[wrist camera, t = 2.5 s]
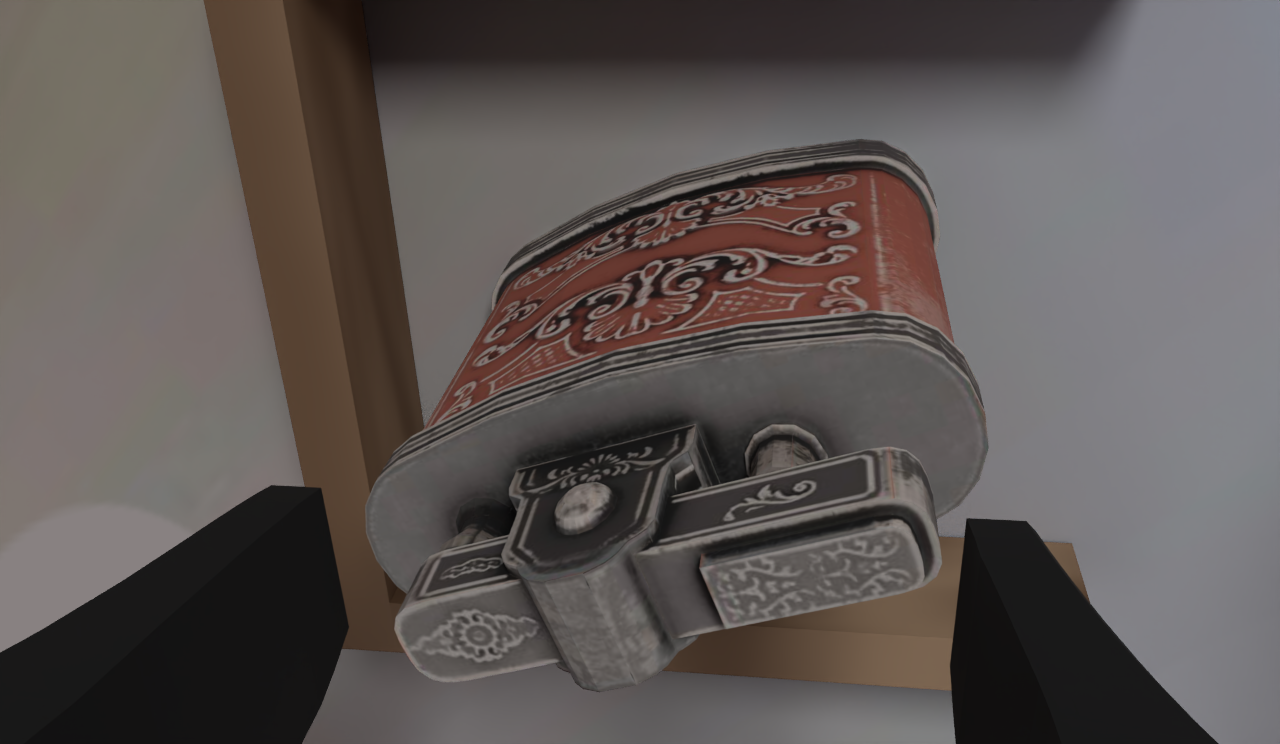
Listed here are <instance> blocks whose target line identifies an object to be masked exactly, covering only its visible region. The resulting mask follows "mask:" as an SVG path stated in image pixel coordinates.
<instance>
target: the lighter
mask: <svg viewBox="0 0 1280 744" xmlns="http://www.w3.org/2000/svg"><path fill="white" fill-rule="evenodd" d="M939 239H940V231H939V222H938V213H937V207H936V203H935V199H934V194H933V191H932V189H931V187H930V185H929V183H928V181H927V179H926V177H925V174H924V172H923V170H922V169H921V168H920V167H919V166H918V165H917V164H916V163H915V162H914V161H913V160H912V159H911V158H910V157H909V156H908V155H907V154H906V153H905V152H904V151H902V150H900V149H898V148H896V147H894V146H892V145H890V144H888V143H885V142H883V141H877V140H863V139H856V140H848V141H840V142H832V143H825V144H817V145H809V146H801V147H793V148H785V149H778V150H770V151H765V152H761V153H757V154H752V155H748V156H744V157H740V158H736V159H732V160H728V161H724V162H720V163H716V164H712V165H708V166H704V167H700V168H696V169H692V170H688V171H684V172H680V173H676V174H674V175H671V176H669V177H666V178H664V179H661V180H659V181H656V182H654V183H651V184H649V185H646V186H644V187H642V188H639V189H637V190H634V191H632V192H629V193H627V194H624V195H622V196H619V197H617V198H614V199H612V200H609V201H607V202H604V203H602V204H599V205H597V206H595V207H593V208H591V209H589V210H587V211H586V212H584V213H582V214H580V215H578V216H577V217H575V218H573V219H571V220H569V221H568V222H566V223H564V224H562V225H560V226H559V227H557V228H555V229H553V230H551V231H550V232H548V233H546V234H544V235H542V236H541V237H539V238H537V239H535V240H533V241H532V242H530V243H528V244H526V245H525V246H524V247H523V248H522V249H521V250H519V251H518V252H517V253H516V254H515V255H514V256H513V257H512V258H511V260H510V261H509V263H508V265H507V266H506V268H505V270H504V271H503V273H502V274H501V276H500V278H499V281H498V283H497V285H496V287H495V290H494V292H493V294H492V313H491V315H490V316H489V318H488V320H487V321H486V323H485V325H484V327H483V328H482V330H481V332H480V333H479V335H478V337H477V339H476V340H475V342H474V344H473V345H472V347H471V349H470V351H469V352H468V354H467V356H466V357H465V359H464V361H463V363H462V364H461V366H460V368H459V369H458V371H457V373H456V374H455V376H454V378H453V380H452V381H451V383H450V385H449V386H448V388H447V390H446V392H445V393H444V395H443V397H442V398H441V400H440V402H439V404H438V405H437V407H436V409H435V410H434V412H433V414H432V416H431V417H430V419H429V421H428V422H427V424H426V426H425V427H424V429H423V431H421V432H419V433H417V434H415V435H413V436H411V437H410V438H409V439H408V440H407V441H406V442H404V443H403V444H402V445H401V446H400V447H398V448H397V449H396V450H395V451H394V452H393V454H392V455H391V457H390V459H389V460H388V462H387V464H386V465H385V467H384V468H383V470H382V472H381V473H380V475H379V477H378V478H377V480H376V482H375V484H374V486H373V488H372V491H371V493H370V496H369V498H368V500H367V503H366V505H365V513H366V534H367V537H368V539H369V542H370V544H371V547H372V550H373V552H374V555H375V557H376V560H377V561H378V563H379V564H380V565H381V567H382V568H383V569H384V571H385V572H386V573H387V574H388V576H389V577H390V578H391V580H392V581H393V582H394V584H395V585H396V586H397V587H399V588H400V589H401V590H403V591H404V592H405V593H406V594H407V595H406V597H405V599H404V601H403V603H402V605H401V607H400V609H399V612H398V614H397V616H396V618H395V627H394V630H395V632H396V635H397V637H398V640H399V642H400V645H401V646H402V648H403V650H404V651H405V653H406V655H407V657H408V658H409V659H410V661H411V662H412V663H413V665H414V666H415V667H416V668H417V670H418V671H419V672H421V673H422V674H424V675H425V676H427V677H429V678H430V679H432V680H437V681H441V682H445V683H450V682H462V681H468V680H473V679H478V678H483V677H488V676H493V675H498V674H503V673H508V672H513V671H518V670H523V669H528V668H533V667H538V666H543V665H548V664H553V663H556V665H557V667H558V668H560V669H562V670H563V671H566V672H569V673H571V675H572V677H573V679H574V681H575V683H576V684H577V685H579V686H580V687H581V688H583V689H587V690H592V691H597V692H602V691H607V690H613V689H618V688H623V687H628V686H634V685H638V684H640V683H641V682H643V681H645V680H647V679H649V678H651V677H653V676H655V675H657V674H658V673H659V672H660V671H662V670H663V669H664V668H665V667H666V666H668V665H669V663H670V662H671V661H672V659H673V658H674V657H675V656H676V654H677V653H678V652H679V651H681V650H682V649H684V648H685V647H687V646H688V645H690V644H691V643H692V642H694V641H695V640H696V639H697V638H698V636H699V635H700V634H702V633H707V632H712V631H717V630H722V629H729V628H734V627H739V626H744V625H749V624H754V623H759V622H764V621H769V620H774V619H779V618H784V617H789V616H794V615H799V614H804V613H809V612H814V611H819V610H824V609H829V608H834V607H839V606H844V605H849V604H854V603H859V602H864V601H868V600H873V599H878V598H883V597H888V596H893V595H898V594H902V593H905V592H908V591H912V590H915V589H918V588H921V587H924V586H925V585H926V584H928V583H929V582H930V581H932V580H933V579H934V578H936V577H937V575H938V572H939V570H940V567H941V565H942V558H941V550H940V542H939V535H938V528H937V521H936V520H937V519H938V518H940V517H942V516H943V515H945V514H946V513H948V512H950V511H951V510H953V509H954V508H956V507H958V506H959V505H960V504H961V503H962V502H963V500H964V499H965V498H966V496H967V495H968V494H969V493H970V491H971V490H972V489H973V487H974V486H975V485H976V483H977V482H978V481H979V479H980V476H981V472H982V469H983V465H984V462H985V458H986V455H987V451H988V438H987V427H986V417H985V411H984V407H983V403H982V398H981V394H980V390H979V386H978V382H977V380H976V378H975V376H974V374H973V372H972V370H971V368H970V366H969V364H968V362H967V360H966V358H965V356H964V354H963V352H962V351H961V350H960V349H959V348H958V347H957V346H956V345H955V344H954V340H953V336H952V331H951V326H950V321H949V317H948V312H947V307H946V302H945V298H944V293H943V288H942V284H941V279H940V274H939V269H938V265H937V260H936V251H937V247H938V243H939Z"/></svg>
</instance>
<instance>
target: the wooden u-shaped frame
mask: <svg viewBox="0 0 1280 744" xmlns="http://www.w3.org/2000/svg"><path fill="white" fill-rule="evenodd" d="M204 4H205V9H206V14H207V18H208V23H209V28H210V33H211V38H212V42H213V47H214V52H215V57H216V62H217V67H218V71H219V76H220V81H221V86H222V91H223V95H224V100H225V105H226V110H227V115H228V119H229V124H230V129H231V134H232V139H233V143H234V148H235V153H236V158H237V163H238V167H239V172H240V177H241V182H242V187H243V191H244V196H245V201H246V206H247V211H248V215H249V220H250V225H251V230H252V235H253V239H254V244H255V249H256V254H257V259H258V263H259V268H260V273H261V278H262V283H263V287H264V292H265V297H266V302H267V307H268V311H269V316H270V321H271V326H272V331H273V335H274V340H275V345H276V350H277V355H278V359H279V364H280V369H281V374H282V379H283V383H284V388H285V393H286V398H287V403H288V408H289V412H290V417H291V422H292V427H293V432H294V436H295V441H296V446H297V451H298V456H299V460H300V465H301V470H302V475H303V480H304V484H305V487H317V488H321V489H322V494H323V499H324V504H325V509H326V514H327V519H328V524H329V529H330V534H331V539H332V544H333V549H334V554H335V559H336V564H337V569H338V574H339V579H340V584H341V589H342V594H343V599H344V604H345V609H346V614H347V619H348V624H349V629H348V632H347V635H346V638H345V641H344V644H343V647H342V649H357V650H371V651H386V652H400V653H405V651H404V650H403V648H402V646H401V645H400V642H399V640H398V637H397V635H396V632H395V630H394V627H395V618H396V616H397V614H398V612H399V609H400V607H401V605H402V603H403V601H404V599H405V597H406V595H407V594H406V593H405V592H404V591H403V590H401V589H400V588H399V587H397V586H396V585H395V584H394V582H393V581H392V580H391V578H390V577H389V576H388V574H387V573H386V572H385V571H384V569H383V568H382V567H381V565H380V564H379V563H378V561H377V560H376V557H375V555H374V552H373V550H372V547H371V544H370V542H369V539H368V537H367V534H366V513H365V505H366V503H367V500H368V498H369V496H370V493H371V491H372V488H373V486H374V484H375V482H376V480H377V478H378V477H379V475H380V473H381V472H382V470H383V468H384V467H385V465H386V464H387V462H388V460H389V459H390V457H391V455H392V454H393V452H394V451H395V450H396V449H397V448H398V447H400V446H401V445H402V444H403V443H404V442H406V441H407V440H408V439H409V438H410V437H411V436H413V435H415V434H417V433H419V432H421V431H423V429H424V425H423V418H422V411H421V404H420V397H419V390H418V384H417V377H416V370H415V363H414V356H413V349H412V343H411V336H410V329H409V322H408V315H407V308H406V302H405V295H404V288H403V281H402V274H401V267H400V261H399V254H398V247H397V240H396V233H395V226H394V220H393V213H392V206H391V199H390V192H389V185H388V178H387V172H386V165H385V158H384V151H383V144H382V137H381V131H380V124H379V117H378V110H377V103H376V96H375V90H374V83H373V76H372V69H371V62H370V55H369V49H368V42H367V35H366V28H365V21H364V14H363V8H362V1H361V0H204ZM939 542H940V550H941V558H942V565H941V567H940V570H939V572H938V575H937V577H936V578H934V579H933V580H932V581H930V582H929V583H928V584H926V585H925V586H924V587H921V588H918V589H915V590H912V591H908V592H905V593H902V594H898V595H893V596H888V597H883V598H878V599H873V600H868V601H864V602H859V603H854V604H849V605H844V606H839V607H834V608H829V609H824V610H819V611H814V612H809V613H804V614H799V615H794V616H789V617H784V618H779V619H774V620H769V621H764V622H759V623H754V624H749V625H744V626H739V627H734V628H729V629H722V630H717V631H712V632H707V633H702V634H700V635H699V636H698V638H697V639H696V640H695V641H694V642H692V643H691V644H690V645H688V646H687V647H685V648H684V649H682V650H681V651H679V652H678V653H677V654H676V656H675V657H674V658H673V659H672V661H671V662H670V663H669V665H668V666H666V667H665V668H664V669H663V670H662V671H675V672H690V673H704V674H719V675H733V676H748V677H762V678H777V679H791V680H806V681H820V682H835V683H849V684H863V685H878V686H892V687H907V688H921V689H936V690H950V691H952V689H951V676H950V660H951V651H952V642H953V634H954V625H955V616H956V607H957V599H958V590H959V581H960V573H961V564H962V555H963V546H964V538H956V537H939ZM1044 543H1045V545H1046V546H1047V547H1048V549H1049V550H1050V552H1051V553H1052V554H1053V556H1054V557H1055V558H1056V560H1057V561H1058V562H1059V564H1060V565H1061V566H1062V568H1063V569H1064V570H1065V572H1066V573H1067V574H1068V576H1069V577H1070V578H1071V580H1072V581H1073V582H1074V583H1075V585H1076V586H1077V587H1078V589H1079V590H1080V591H1081V592H1082V594H1083V595H1084V596H1085V598H1086V599H1087V600H1088V601H1089V598H1088V595H1087V591H1086V588H1085V585H1084V581H1083V578H1082V575H1081V572H1080V568H1079V565H1078V562H1077V559H1076V555H1075V552H1074V549H1073V546H1072V543H1054V542H1044ZM1089 603H1090V601H1089Z"/></svg>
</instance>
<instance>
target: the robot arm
mask: <svg viewBox="0 0 1280 744" xmlns="http://www.w3.org/2000/svg"><path fill="white" fill-rule="evenodd" d="M348 629H349V624H348V619H347V614H346V609H345V604H344V599H343V594H342V589H341V584H340V579H339V574H338V569H337V564H336V559H335V554H334V549H333V544H332V539H331V534H330V529H329V524H328V519H327V514H326V509H325V504H324V499H323V494H322V489H321V488H317V487H296V486H275V485H271V486H269V487H268V488H266V489H264V490H262V491H260V492H259V493H257V494H255V495H253V496H252V497H250V498H248V499H247V500H245V501H244V502H242V503H240V504H239V505H237V506H236V507H234V508H233V509H231V510H230V511H228V512H226V513H225V514H223V515H222V516H220V517H219V518H217V519H216V520H214V521H213V522H211V523H210V524H208V525H207V526H205V527H204V528H202V529H201V530H199V531H198V532H196V533H195V534H193V535H192V536H190V537H189V538H187V539H186V540H184V541H183V542H181V543H180V544H178V545H177V546H175V547H174V548H172V549H171V550H169V551H168V552H166V553H165V554H163V555H161V556H160V557H158V558H157V559H155V560H154V561H152V562H151V563H149V564H148V565H146V566H145V567H143V568H142V569H140V570H138V571H137V572H135V573H134V574H132V575H131V576H129V577H128V578H126V579H125V580H123V581H122V582H120V583H118V584H117V585H115V586H113V587H112V588H110V589H108V590H107V591H105V592H103V593H102V594H100V595H98V596H97V597H95V598H94V599H92V600H90V601H89V602H87V603H85V604H84V605H82V606H80V607H79V608H77V609H75V610H74V611H72V612H70V613H69V614H67V615H65V616H64V617H62V618H60V619H59V620H57V621H55V622H54V623H52V624H51V625H49V626H47V627H46V628H44V629H42V630H40V631H39V632H37V633H35V634H33V635H32V636H30V637H28V638H26V639H25V640H23V641H21V642H19V643H17V644H15V645H13V646H12V647H10V648H8V649H6V650H4V651H2V652H1V653H0V744H302V742H303V740H304V738H305V736H306V734H307V732H308V730H309V728H310V726H311V724H312V722H313V720H314V718H315V716H316V714H317V712H318V710H319V709H320V707H321V705H322V702H323V699H324V697H325V694H326V691H327V689H328V686H329V683H330V681H331V678H332V676H333V673H334V670H335V667H336V664H337V661H338V659H339V656H340V653H341V650H342V647H343V644H344V641H345V638H346V635H347V632H348ZM950 676H951V689H952V703H953V716H954V727H955V739H956V744H1218V743H1217V742H1216V741H1215V740H1214V739H1213V738H1212V737H1211V736H1210V735H1209V734H1208V733H1207V732H1206V731H1205V730H1204V729H1203V728H1202V727H1201V726H1200V725H1199V724H1198V723H1196V722H1195V721H1194V720H1193V719H1192V718H1191V717H1190V715H1189V714H1188V713H1187V712H1186V711H1185V710H1184V709H1183V708H1182V707H1181V706H1180V705H1179V704H1178V703H1177V702H1176V701H1175V700H1174V699H1173V698H1172V697H1171V696H1170V695H1169V694H1168V693H1167V692H1166V691H1165V689H1164V688H1163V687H1162V686H1161V685H1160V684H1159V683H1158V682H1157V681H1156V680H1155V679H1154V678H1153V676H1152V675H1151V674H1150V673H1149V672H1148V671H1147V670H1146V669H1145V668H1144V667H1143V665H1142V664H1141V663H1140V662H1139V661H1138V660H1137V659H1136V658H1135V656H1134V655H1133V654H1132V653H1131V652H1130V650H1129V649H1128V648H1127V647H1126V646H1125V645H1124V643H1123V642H1122V641H1121V640H1120V639H1119V638H1118V636H1117V635H1116V634H1115V633H1114V632H1113V631H1112V629H1111V628H1110V627H1109V626H1108V625H1107V624H1106V622H1105V621H1104V620H1103V619H1102V618H1101V616H1100V615H1099V614H1098V613H1097V611H1096V610H1095V609H1094V608H1093V606H1092V605H1091V604H1090V603H1089V601H1088V600H1087V599H1086V598H1085V596H1084V595H1083V594H1082V592H1081V591H1080V590H1079V589H1078V587H1077V586H1076V585H1075V583H1074V582H1073V581H1072V580H1071V578H1070V577H1069V576H1068V574H1067V573H1066V572H1065V570H1064V569H1063V568H1062V566H1061V565H1060V564H1059V562H1058V561H1057V560H1056V558H1055V557H1054V556H1053V554H1052V553H1051V552H1050V550H1049V549H1048V547H1047V546H1046V545H1045V543H1044V542H1043V541H1042V539H1041V538H1040V536H1039V535H1038V534H1037V532H1036V531H1035V530H1034V529H1033V528H1032V527H1031V526H1030V525H1029V524H1028V522H1027V521H1012V520H991V519H970V518H967V520H966V529H965V538H964V546H963V555H962V564H961V573H960V581H959V590H958V599H957V607H956V616H955V625H954V634H953V642H952V651H951V660H950Z"/></svg>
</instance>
